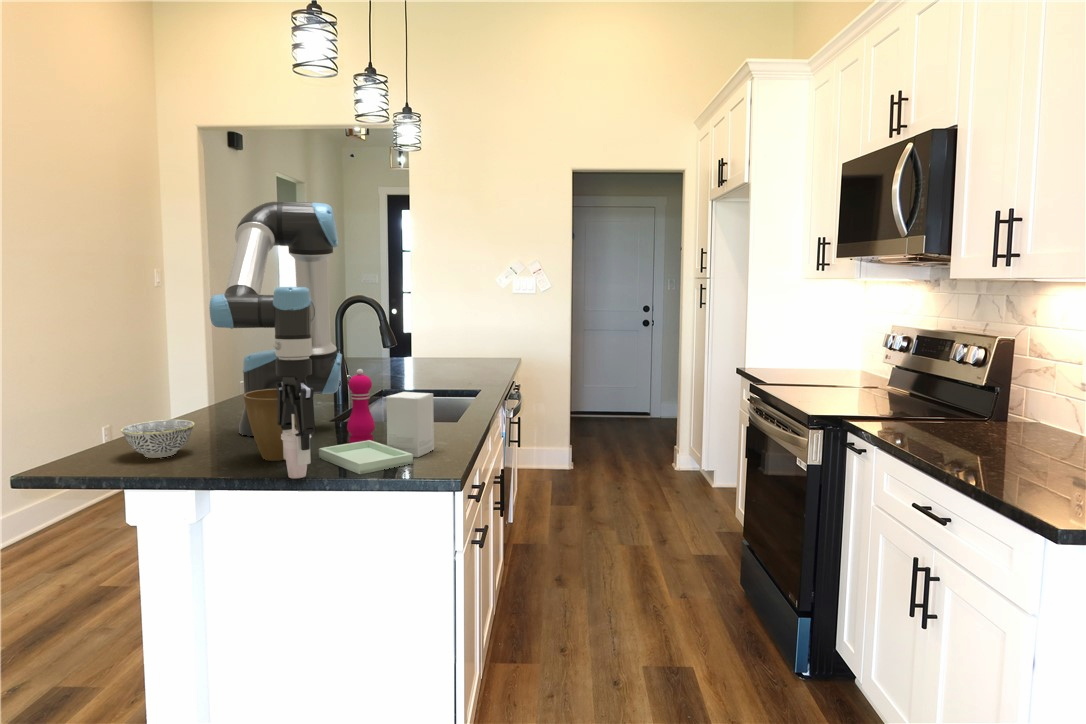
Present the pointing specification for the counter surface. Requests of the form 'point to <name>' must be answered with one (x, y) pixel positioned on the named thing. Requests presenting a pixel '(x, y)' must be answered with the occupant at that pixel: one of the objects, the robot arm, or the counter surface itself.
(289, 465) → the smoothie
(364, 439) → the pepper mill
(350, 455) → the tray
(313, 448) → the counter surface
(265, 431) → the plant pot
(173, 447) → the bowl
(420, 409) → the supplement box
